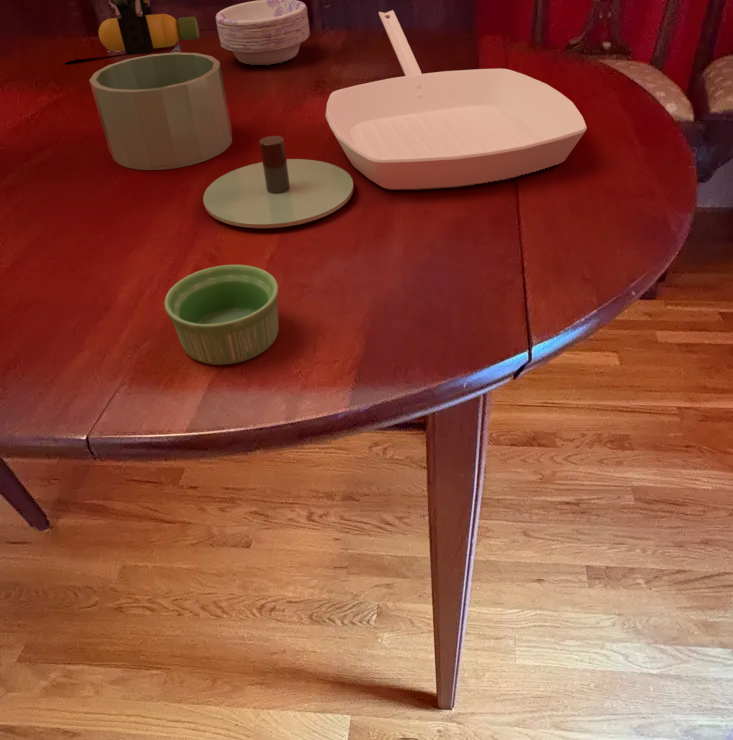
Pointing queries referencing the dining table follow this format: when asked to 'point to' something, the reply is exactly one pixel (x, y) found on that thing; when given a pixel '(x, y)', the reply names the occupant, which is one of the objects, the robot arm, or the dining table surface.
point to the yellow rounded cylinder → (152, 31)
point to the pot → (163, 110)
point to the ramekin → (225, 313)
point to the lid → (278, 190)
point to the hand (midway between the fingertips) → (142, 46)
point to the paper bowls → (263, 30)
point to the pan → (451, 124)
